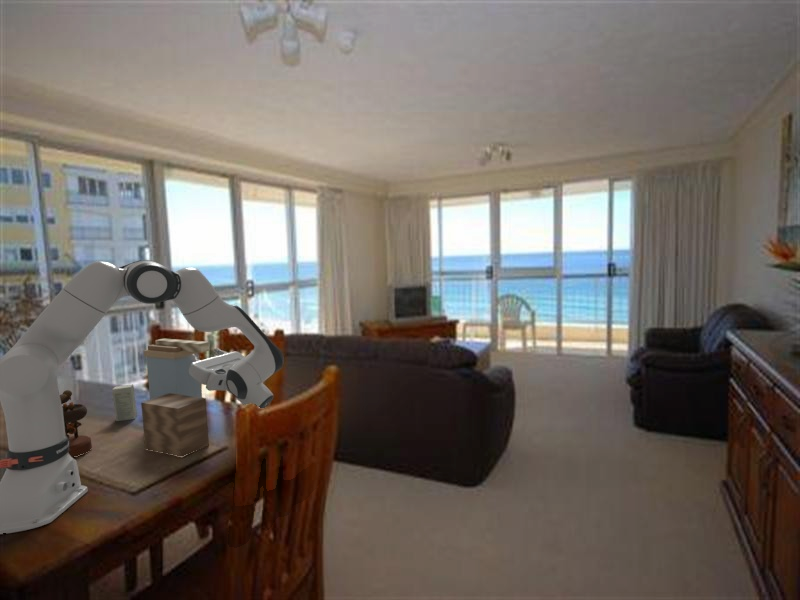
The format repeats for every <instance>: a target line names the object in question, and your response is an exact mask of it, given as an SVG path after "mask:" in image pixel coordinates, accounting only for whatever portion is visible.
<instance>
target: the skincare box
mask: <svg viewBox="0 0 800 600" xmlns="http://www.w3.org/2000/svg"><path fill="white" fill-rule="evenodd" d="M111 392H112V399H113V406H114V407H113V408H114V414H115V421H116V422H121V421H127V420H128V421H129V420H135V419H136V417H137V416H138V412H137V405H136V402H137V401H136V397H135V395H136V394H135V386H134V384H133V383H132V384H124V385H116V386H114V387H113V388H112V389H111Z"/></svg>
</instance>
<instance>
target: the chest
mask: <svg viewBox="0 0 800 600" xmlns="http://www.w3.org/2000/svg"><path fill="white" fill-rule="evenodd" d="M192 354H197V355H198V356H199V357H198V360H199V359H200V353H198V352H187V351H181V347H175V346H164V345H156V344H149V345H147V349H145V350H143V357H146V367H147V368H146V369H147V379H148V389H149V390H148V391H149V400H151V399H154V398H157V397H160V396H163V395H166V394H169V393H172V394H179V395H185V396H192V397H199V398H203V393H202V392H203V391H202V384H201V383H199V382H198V381H197V380H195V379H194V378H193V377H192V376H191V375H190V374H189V368H190V366H191V363H193V360H191V359H190V357H191V355H192Z"/></svg>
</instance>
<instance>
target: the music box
mask: <svg viewBox="0 0 800 600" xmlns="http://www.w3.org/2000/svg"><path fill="white" fill-rule="evenodd" d="M59 395H60V400H61V404H62V408H63V417H64V426H65V436H67V437H68V441H69V452H68V453H69V454H70V456H71V457H74V456H78V455H80V454H83V453H86V452H88V451H89V450H90V449H91V448H92V449H93V446H92V438H91V437H90V436H88V435H79V431H78V428H79V427H80V426H82V425H83V424H82V423H81V422H80V421H81V420H83V419H84V418H85V417H86V416H87V414H88V409H87V407H86V406H85V405H84V404H80V403H75V404H74V402H72V395H73V393H72V391H71V390H70V389H67V390H63V392H62V394H59ZM69 401H71V402H69ZM67 402H69V404H67ZM70 435H73V436H70ZM88 453H89V452H88Z"/></svg>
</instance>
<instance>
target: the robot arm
mask: <svg viewBox="0 0 800 600" xmlns="http://www.w3.org/2000/svg"><path fill="white" fill-rule="evenodd" d="M129 296H130V297H131V298H133V299H134V300H136V301H138V302H140V303H142V304H149V305H151V304H152V305H153V304H159V303H163V302H166V301H167V302H168V301H172V302H173V303H174V304H175V305H176V306H177V308H178V309H179V311H180V313H181V314H182V316H183V317H184V318H185V320H186V321H187V323H188V324H189V325H190V326H191V328H192V329H195V330H197V331H199V332H201V333H203V332H204V333H212V332H218V331H223V330H226V329H231V328H237V329H238V330H240V331H241V333H242V334H243V335H244V336H245V337H246V339H248V341H250V343H251V344H252V345H253V347H254V348H253V350H252V351H251V352H249V354H247V355H246V356H244V355H243V354H242V353H241V352H239V351H237V350H236V351H235V350H234V351H231V352H228V351H225V350H221V349H220V348H219V347H217V348H214V349H213V351H212V352H213V354H214V355H215V356H212V357H208V358H205V359H200V355H199V356H198V355H197V354H192V355H191V357H190V359H191V360H193V363H191V366H190V368H189V374H190V375H191V376H192V377H193V378H194V379H195V380H197V381H198V382H199V383H201V385H204V386H205V389H206V390H208V391H209V392H210V391H211V392H212V391H214V392H215V391H226V392H227V393H229V394H231V395H233V396H234V397H235V398H236V400H237V401H238V402H239V403H241V404H242V405H243V406H245V405H246V404H250V403H253V404H256V405H257V406H258V407H260V408H264V409H266V408H265V407H268V406H269V405H270V404H271V402H272V401H273V399H274V394H273V392H272V391H271V390H270V389H269V388H268V387H267V385H266V384H264V382H265V381H267V379H269V378H270V377H271V376H272V375H274V374H276V373H277V372H278V371H280V370H282V369H283V366H284V362H285V361H284V359H285V354H284V353H283V352H282V350H281V349H280V348H279V347H278V346H277V345H276V344H275V343H274V342H273V341H272V340H271V339H270V338H268V336H267V335H266V334H265V333H264V331H262V330H261V328H260V327H259V326H258V325H257V323H256V322H255V321H254V320H253V319H252V318H251V317H250V316H249V314H248V313H247V312H245V311H244V309H242V308H241V307H240V306H238V305H236V304H229V303H227V302H226V301H224V300H223V298H221V296H220V295H219V293H218V291H217V290H216V289H215V288H214V286H213V284H212V283H211V281H209V279H208V278H207V277H206V276H205V275H204V274H203V272H202V271H200V270H199V269H198V268H195V267H192V266H191V267H183V268H181V269H178V270H176V271H173V270H171V269H170V268H168V267H166V266H164V265H163V264H161V263H159V262H157V261H154V260H151V259H150V260H149V259H146V260H145V259H143V260H142V259H141V260H136V261H133V262H131V263H127V264H125V265H122V266H120V267H118V266H116V265H115V264H113V263H111V262H108V261H103V260H96V261H93V262H91V263H90V264H88V265H86V266H85V267H84V268H82V269H81V270H80V271H79V272H78V273H77V274H76V275H74V276H73V277H72V278H71V279H70V280H69V281H68V282H67V283H66V284H65V285H64V287H63V288H62V289H61V290H60V291H59V292H58V293H57V295H55V297H54V298H53V299H52V300H51V301H50V303H49V304H48V305H47V306H46V307H45V308H44V309H43V310H42V312H41V313H40V314H39V315H38V316H37V318H36V319H35V320H34V321H33V322H32V324H31V325H30V326H29V327H28V328H27V329H26V331H25V332H24V333H23V335H22V336H21V337H20V338H19V339H18V340H17V341H16V343H14V345H13V346H12V347H11V348H10V349H9V350H8V351H7V352H6V353H4V354H3V355H2V356H1V357H0V405H1V408H2V412H3V417H4V420H5V427H6V428H5V429H6V435H7V443H8V444H7V445H8V448H7V451H6V455H5V458H1V460H0V469H6V470H5V471H4V474H3V475H2V478H1V479H0V535H4V534H3V533H6V534H12V533H18V532H24V531H27V530H32V529H36V528H39V527H42V526H44V525H45V526H46V525H48V524H50V523H52V522H53V521H54V520H56V519H57V518H58V517H59V516H61V515H62V513H64V512H65V511H66V510H67V509H69V508H70V507H71V506H72V505H73V504H75V503H76V502H77V501H79V499H81V498H82V497H83V496H84V495H86V494H87V492H88V491H89V490H88V486H86V485H82V482H81V478H80V471H79V466H78V462H77V460H76V459H75V458H72V457H71V456H70V454H69V453H68V452H69V441H68V437H67V436H65V426H64V417H63V408H62V406H63V404H61V400H60V395H61V394H60V391H59V384H58V379H57V378H58V377H57V371H59V369H60V368H61V366H62V365H63V364H64V363H65V362H66V361H67V359H68V358H69V357H70V356H71V355H72V353H74V352H75V350H76V349H77V348H78V347H79V346H80V344H82V343H83V342H84V341H85V340H86V339H87V337H88V336H89V334H91V332H92V331H93V330H94V329H95V327H97V325H98V324H99V322H101V320H102V319H103V318H104V317H105V316H106V314H107V313H108V311H109V310H110V309H111V308H112V307H113V306H114V305H115V303H117V302H118V301H119V300H121V299H122V298H124V297H129ZM198 357H199V360H198Z"/></svg>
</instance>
